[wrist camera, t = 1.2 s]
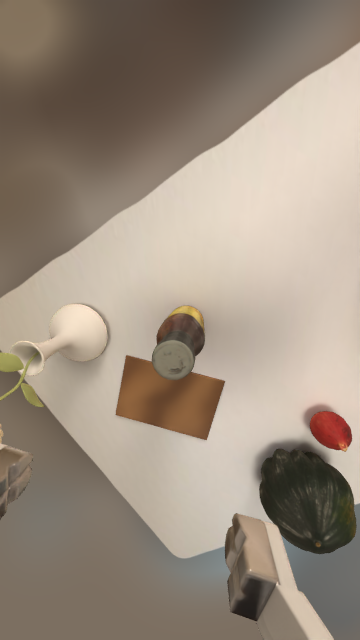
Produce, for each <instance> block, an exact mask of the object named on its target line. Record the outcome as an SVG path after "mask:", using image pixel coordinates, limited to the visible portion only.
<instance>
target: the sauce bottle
mask: <svg viewBox="0 0 360 640" xmlns="http://www.w3.org/2000/svg"><path fill="white" fill-rule="evenodd" d="M204 342H205V333H204V322H203V317H202V315H201V314H200V312H199V311H198V310H197V309H195V308H193V307H191V306H181V307H179V308H177V309H175V310H174V311H173V312H172V313H171V314H170V315H169V316H168V318H167V319H166V320H165V321H164V322H163V324H162V325H161V327H160V328H159V330H158V333H157V346H156V348H155V349H154V351H153V355H152V364H153V367H154V369H155V370H156V372H157V373H158V374H159V375H160V376H162V377H163V378H166V379H168V380H179V379H182V378H184V377H186V376H187V375H188V374H189V373H190V372H191V371H192V369H193V367H194V362H195V356H196V355H198V354H199V353H200V352H201V350H202V348H203V346H204Z"/></svg>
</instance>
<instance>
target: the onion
mask: <svg viewBox="0 0 360 640" xmlns="http://www.w3.org/2000/svg"><path fill="white" fill-rule="evenodd" d="M310 429H311V432H312V434H313V436H314V437H315V438H316V440H317V441H318V442H319V443H321V444H322V445H324V446H326V447H328V448H330V449H335V450H342V451H345V452H346V451H347V448H348V446H349V445H350V444H351V441H352V434H351V429H350V427H349V426H348V424H347V423H346V421H345V420H344V419H343V418H342V417H341V416H339V415H337V414H336V413H334V412H328V411H323V412H318V413H317V414H315V415H314V416H313V417H312V418H311V421H310Z"/></svg>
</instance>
